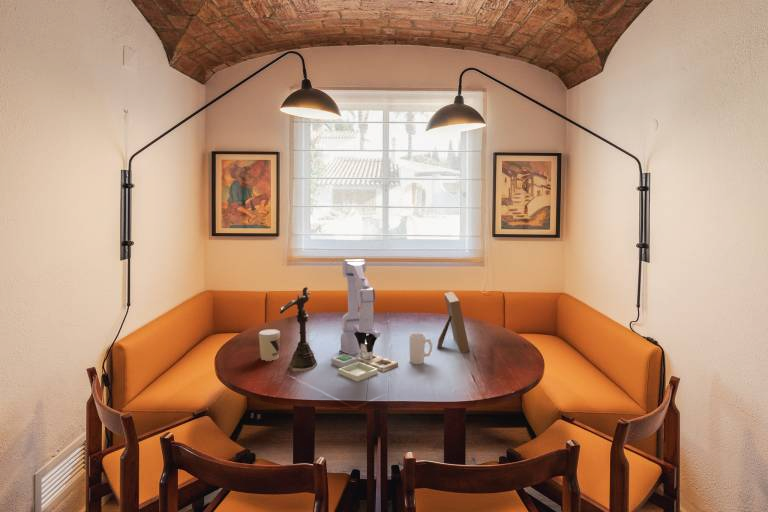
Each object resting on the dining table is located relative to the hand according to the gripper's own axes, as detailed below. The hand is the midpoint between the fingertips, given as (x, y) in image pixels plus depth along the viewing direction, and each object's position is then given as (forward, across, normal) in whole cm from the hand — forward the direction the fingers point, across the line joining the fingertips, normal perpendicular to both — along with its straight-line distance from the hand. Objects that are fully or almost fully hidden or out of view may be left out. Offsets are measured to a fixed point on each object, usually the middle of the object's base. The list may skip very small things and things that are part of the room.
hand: (365, 350), depth 168 cm
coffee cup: (+10, -42, -19) cm, 47 cm away
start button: (+9, -12, -1) cm, 15 cm away
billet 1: (+3, 0, 0) cm, 3 cm away
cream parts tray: (+9, -3, +9) cm, 13 cm away
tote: (+9, 0, -4) cm, 10 cm away
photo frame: (+10, +4, +54) cm, 55 cm away
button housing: (+9, -12, -1) cm, 15 cm away
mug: (+10, +8, +25) cm, 28 cm away
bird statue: (+10, -24, -17) cm, 31 cm away
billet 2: (+9, -8, +9) cm, 15 cm away
